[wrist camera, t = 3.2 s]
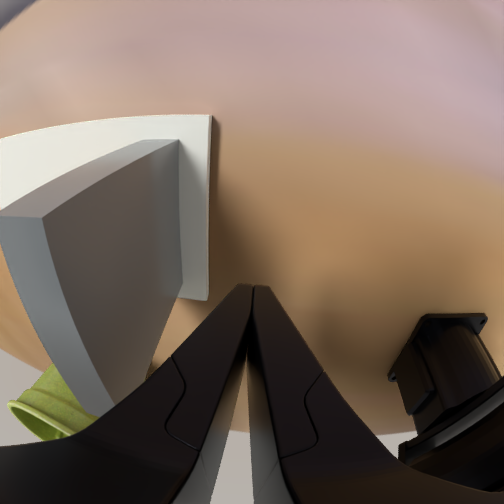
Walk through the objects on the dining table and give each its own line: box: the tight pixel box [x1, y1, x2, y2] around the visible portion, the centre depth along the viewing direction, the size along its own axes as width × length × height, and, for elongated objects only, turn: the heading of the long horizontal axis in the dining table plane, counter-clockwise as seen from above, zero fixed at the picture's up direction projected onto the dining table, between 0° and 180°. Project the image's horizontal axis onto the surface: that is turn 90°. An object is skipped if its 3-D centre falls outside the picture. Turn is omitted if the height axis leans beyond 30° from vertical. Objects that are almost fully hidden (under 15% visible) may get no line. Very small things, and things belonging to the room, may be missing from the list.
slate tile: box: [0, 139, 183, 417], centre depth 9 cm, size 2×7×8 cm, turn 176°
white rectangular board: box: [0, 115, 212, 301], centre depth 13 cm, size 14×9×1 cm, turn 86°
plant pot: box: [7, 363, 146, 441], centre depth 15 cm, size 9×9×9 cm
